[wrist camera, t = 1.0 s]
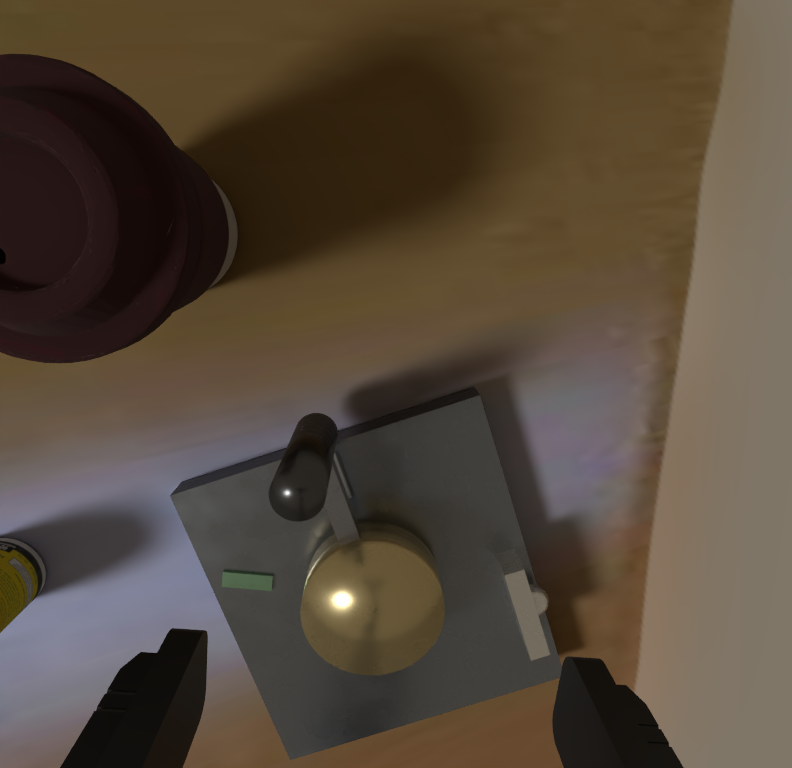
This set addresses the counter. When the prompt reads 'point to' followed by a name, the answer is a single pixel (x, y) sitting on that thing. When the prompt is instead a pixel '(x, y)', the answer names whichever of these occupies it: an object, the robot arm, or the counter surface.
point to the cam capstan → (356, 566)
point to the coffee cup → (96, 216)
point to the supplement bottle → (18, 578)
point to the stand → (398, 505)
